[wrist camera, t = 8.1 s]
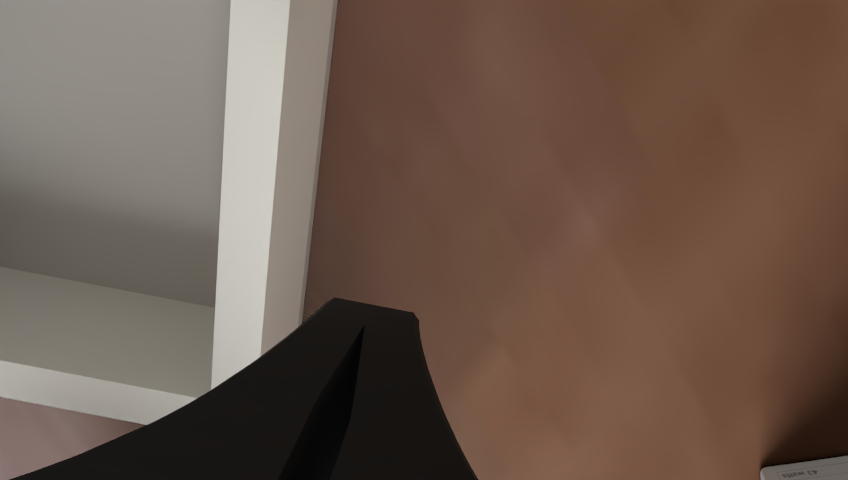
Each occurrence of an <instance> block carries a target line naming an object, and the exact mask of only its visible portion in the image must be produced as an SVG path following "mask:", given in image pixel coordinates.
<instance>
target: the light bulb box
mask: <svg viewBox="0 0 848 480" xmlns="http://www.w3.org/2000/svg"><path fill="white" fill-rule="evenodd" d="M760 477H761V480H848V456H841V457H835V458H828V459H821V460H814V461H807V462H800V463H793V464H785V465H778V466H770V467H765V468H762V470H761V472H760Z"/></svg>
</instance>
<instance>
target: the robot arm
mask: <svg viewBox="0 0 848 480" xmlns="http://www.w3.org/2000/svg"><path fill="white" fill-rule="evenodd" d="M10 480H478V479H477V477H476V475H475V473H474V472H473V470H472V468H471V467H470V465H469V463H468V461H467V459H466V457H465V455H464V453H463V452H462V450H461V448H460V446H459V444H458V442H457V440H456V437H455V435H454V433H453V431H452V429H451V427H450V424H449V422H448V420H447V418H446V416H445V413H444V411H443V408H442V406H441V403H440V401H439V398H438V395H437V393H436V390H435V387H434V384H433V382H432V379H431V376H430V373H429V370H428V367H427V363H426V360H425V356H424V352H423V348H422V344H421V339H420V332H419V320H418V319H417V317H416V316H415V314H414V313H413V312H407V311H402V310H397V309H392V308H386V307H381V306H376V305H371V304H365V303H360V302H355V301H350V300H344V299H339V298H333V299H331V300H330V301H328V302H327V303H325V304H324V305H323V306H322V307H321V308H320V309H319V310H317V311H316V312H315V313H314V314H313V315H312V316H311V317H309V318H308V319H307V320H306V321H305V322H304V323H302V324H301V325H300V326H299V327H298V328H296V329H295V330H294V331H293V332H292V333H290V334H289V335H288V336H287V337H285V338H284V339H283V340H281V341H280V342H279V343H278V344H276V345H275V346H274V347H272V348H271V349H270V350H268V351H267V352H266V353H264V354H263V355H262V356H261V357H259V358H258V359H256V360H255V361H254V362H252V363H251V364H249V365H248V366H246V367H245V368H243V369H242V370H240V371H239V372H237V373H236V374H234V375H233V376H231V377H230V378H228V379H227V380H225V381H224V382H222V383H221V384H219V385H218V386H216V387H215V388H213V389H212V390H210V391H209V392H207V393H205V394H204V395H202V396H200V397H199V398H197V399H195V400H194V401H192V402H190V403H188V404H187V405H185V406H183V407H181V408H179V409H177V410H175V411H174V412H172V413H170V414H168V415H166V416H164V417H162V418H160V419H158V420H156V421H154V422H152V423H150V424H148V425H146V426H144V427H141V428H139V429H137V430H134V431H132V432H130V433H128V434H125V435H123V436H121V437H118V438H116V439H114V440H112V441H109V442H107V443H105V444H102V445H100V446H98V447H95V448H93V449H91V450H89V451H86V452H84V453H82V454H79V455H77V456H74V457H72V458H69V459H66V460H64V461H61V462H58V463H55V464H53V465H50V466H47V467H45V468H42V469H39V470H36V471H34V472H31V473H28V474H25V475H22V476H19V477H16V478H13V479H10Z"/></svg>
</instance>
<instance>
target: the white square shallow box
mask: <svg viewBox="0 0 848 480" xmlns="http://www.w3.org/2000/svg"><path fill="white" fill-rule="evenodd" d="M337 3H338V0H0V397H4V398H10V399H15V400H20V401H25V402H30V403H36V404H41V405H46V406H51V407H56V408H62V409H67V410H72V411H77V412H82V413H87V414H93V415H98V416H103V417H108V418H113V419H119V420H124V421H129V422H134V423H139V424H145V425H148V424H150V423H152V422H154V421H156V420H158V419H160V418H162V417H164V416H166V415H168V414H170V413H172V412H174V411H175V410H177V409H179V408H181V407H183V406H185V405H187V404H188V403H190V402H192V401H194V400H195V399H197V398H199V397H200V396H202V395H204V394H205V393H207V392H209V391H210V390H212V389H213V388H215V387H216V386H218V385H219V384H221V383H222V382H224V381H225V380H227V379H228V378H230V377H231V376H233V375H234V374H236V373H237V372H239V371H240V370H242V369H243V368H245V367H246V366H248V365H249V364H251V363H252V362H254V361H255V360H256V359H258V358H259V357H261V356H262V355H263V354H264V353H266V352H267V351H268V350H270V349H271V348H272V347H274V346H275V345H276V344H278V343H279V342H280V341H281V340H283V339H284V338H285V337H287V336H288V335H289V334H290V333H292V332H293V331H294V330H295V329H296V328H298V327H299V326H300V325H301V324H302V318H303V309H304V300H305V291H306V282H307V273H308V264H309V255H310V246H311V237H312V228H313V219H314V210H315V201H316V192H317V183H318V174H319V165H320V156H321V147H322V138H323V129H324V120H325V111H326V102H327V93H328V84H329V75H330V66H331V57H332V48H333V39H334V30H335V21H336V12H337Z"/></svg>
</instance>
